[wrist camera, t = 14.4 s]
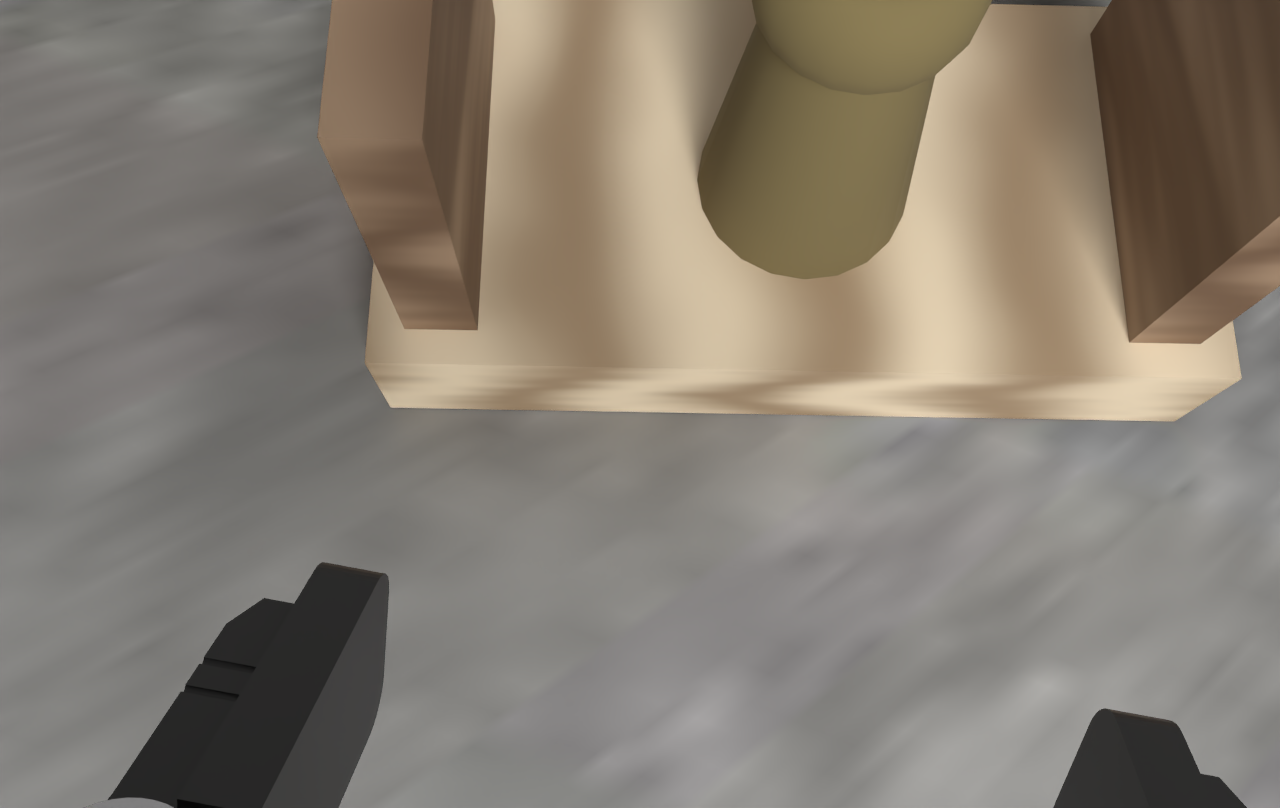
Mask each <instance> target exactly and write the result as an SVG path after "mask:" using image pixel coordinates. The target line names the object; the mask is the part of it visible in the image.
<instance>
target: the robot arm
mask: <svg viewBox="0 0 1280 808" xmlns="http://www.w3.org/2000/svg"><path fill="white" fill-rule="evenodd" d="M388 597H389V580H388V576H387V575H386V574H384V573H379V572H373V571H368V570H362V569H357V568H351V567H346V566H341V565H335V564H330V563H324V562H322V563H320V564H319V565H318V566H317V567H316V569H315V570H314V572H313V574H312V575H311V577H310V579H309V580H308V582H307V584H306V585H305V587H304V589H303V590H302V592H301V594H300V595H299V597H298V599H297V600H296V602H295V604H293V603H287V602H282V601H276V600H271V599H266V598H264V599H262V600H261V601H259V602H258V603H256V604H255V605H253V606H252V607H251V608H249V609H248V610H246V611H245V612H243V613H242V614H240V615H239V616H237V617H236V618H234V619H233V620H231V621H230V622H228V623H227V624H226V625H225V627H224V628H223V630H222V631H221V633H220V634H219V636H218V637H217V639H216V640H215V642H214V643H213V645H212V646H211V648H210V649H209V651H208V652H207V653H206V655H205V656H204V661H203V663H202V664H199V665H198V667H197V668H196V670H195V671H194V673H193V674H192V676H191V677H190V679H189V680H188V682H187V683H186V686H185V690H184V692H180V694H179V695H178V697H177V698H176V700H175V701H174V703H173V704H172V706H171V707H170V709H169V710H168V712H167V713H166V715H165V716H164V718H163V719H162V721H161V722H160V724H159V725H158V727H157V728H156V730H155V731H154V733H153V734H152V735H151V737H150V738H149V740H148V741H147V743H146V744H145V746H144V747H143V749H142V750H141V752H140V753H139V755H138V756H137V758H136V759H135V761H134V762H133V764H132V765H131V767H130V768H129V770H128V771H127V773H126V774H125V776H124V777H123V779H122V780H121V782H120V783H119V785H118V786H117V788H116V789H115V791H114V792H113V793H112V795H111V796H110V797H109V799H108V800H107V801H102V802H98V803H95V804H92V805H89V806H87V807H84V808H338V807H339V805H340V803H341V800H342V798H343V796H344V793H345V791H346V789H347V786H348V784H349V782H350V780H351V777H352V775H353V773H354V770H355V768H356V766H357V763H358V761H359V759H360V757H361V754H362V752H363V750H364V747H365V745H366V743H367V740H368V738H369V736H370V733H371V731H372V728H373V725H374V722H375V718H376V715H377V711H378V707H379V703H380V698H381V693H382V686H383V678H384V662H385V646H386V630H387V613H388ZM1054 808H1247V807H1246V806H1245V805H1244V804H1243V803H1242V802H1241V801H1240V800H1239V799H1238V798H1237V796H1236V795H1235V794H1234V793H1233V792H1232V791H1231V790H1230V789H1229V788H1228V787H1227V785H1226V784H1225V783H1224V782H1223V781H1222V780H1221V779H1220V778H1219V777H1215V776H1209V775H1204V774H1200V772H1199V769H1198V767H1197V765H1196V763H1195V761H1194V758H1193V756H1192V754H1191V752H1190V749H1189V747H1188V745H1187V743H1186V740H1185V738H1184V736H1183V734H1182V732H1181V730H1180V728H1179V727H1178V726H1177V724H1176V723H1174V722H1173V721H1170V720H1165V719H1159V718H1154V717H1148V716H1143V715H1138V714H1132V713H1127V712H1121V711H1116V710H1110V709H1101V710H1099V711H1098V712H1097V713H1096V714H1095V716H1094V717H1093V718H1092V720H1091V722H1090V725H1089V727H1088V729H1087V731H1086V734H1085V736H1084V738H1083V741H1082V743H1081V745H1080V747H1079V750H1078V752H1077V754H1076V757H1075V759H1074V761H1073V763H1072V766H1071V768H1070V770H1069V773H1068V775H1067V777H1066V780H1065V782H1064V784H1063V786H1062V789H1061V791H1060V793H1059V796H1058V798H1057V800H1056V802H1055V805H1054Z"/></svg>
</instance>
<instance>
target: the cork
mask: <svg viewBox="0 0 1280 808" xmlns="http://www.w3.org/2000/svg"><path fill="white" fill-rule="evenodd" d="M991 2H992V0H752V4H753V9H754V14H755V19H756V24H755V27H754V29H753V32H752V34H751V36H750V39H749V41H748V44H747V46H746V48H745V51H744V53H743V55H742V58H741V60H740V63H739V65H738V67H737V70H736V72H735V75H734V77H733V79H732V82H731V84H730V87H729V89H728V91H727V94H726V96H725V98H724V101H723V103H722V106H721V108H720V110H719V113H718V115H717V118H716V120H715V122H714V125H713V127H712V129H711V132H710V134H709V137H708V139H707V141H706V144H705V146H704V149H703V151H702V156H701V162H700V167H699V172H698V178H697V182H698V188H699V194H700V200H701V205H702V210H703V212H704V213H705V215H706V217H707V219H708V221H709V223H710V224H711V226H712V228H713V230H714V232H715V233H716V235H717V237H718V238H719V239H720V240H721V241H723V242H724V243H725V244H726V245H727V246H728V247H729V248H730V249H731V250H732V251H733V252H734V253H735V254H736V255H737V256H739V257H740V258H741V259H742V260H744V261H746V262H749V263H751V264H753V265H755V266H757V267H759V268H761V269H763V270H765V271H767V272H769V273H771V274H776V275H782V276H787V277H793V278H799V279H813V278H821V277H830V276H838V275H840V274H842V273H844V272H847V271H849V270H851V269H853V268H856V267H858V266H860V265H862V264H864V263H867V262H868V261H869V260H870V259H871V258H872V257H873V256H874V255H875V254H877V253H878V252H879V251H880V250H881V249H882V248H883V247H884V246H885V245H886V244H887V243H888V242H889V241H890V239H891V237H892V236H893V234H894V232H895V230H896V228H897V226H898V224H899V222H900V220H901V218H902V216H903V213H904V209H905V204H906V200H907V196H908V191H909V187H910V183H911V179H912V174H913V170H914V166H915V161H916V157H917V153H918V148H919V144H920V140H921V135H922V131H923V127H924V122H925V118H926V114H927V110H928V105H929V101H930V97H931V92H932V88H933V84H934V79H935V75H936V74H937V73H938V72H940V71H941V70H942V69H943V68H944V67H945V66H946V65H947V64H949V63H950V62H951V61H952V60H953V59H954V58H955V57H956V56H957V55H958V54H960V53H961V52H962V51H963V50H964V49H965V48H966V47H967V46H968V45H969V44H970V42H971V40H972V38H973V36H974V34H975V33H976V31H977V29H978V27H979V25H980V23H981V21H982V19H983V17H984V15H985V13H986V12H987V10H988V8H989V6H990V4H991Z"/></svg>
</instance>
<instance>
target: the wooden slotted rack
mask: <svg viewBox="0 0 1280 808" xmlns="http://www.w3.org/2000/svg"><path fill="white" fill-rule="evenodd" d="M755 24H756V19H755V14H754V9H753V4H752V0H332V6H331V15H330V24H329V34H328V43H327V52H326V61H325V71H324V80H323V89H322V98H321V108H320V117H319V126H318V135H317V138H318V140H319V142H320V144H321V147H322V149H323V151H324V153H325V155H326V158H327V160H328V162H329V164H330V166H331V169H332V171H333V173H334V175H335V177H336V180H337V182H338V184H339V186H340V188H341V191H342V193H343V195H344V197H345V199H346V202H347V204H348V206H349V208H350V210H351V213H352V215H353V217H354V219H355V221H356V224H357V226H358V228H359V230H360V232H361V235H362V237H363V239H364V241H365V243H366V246H367V248H368V250H369V252H370V254H371V257H372V259H373V261H374V262H373V273H372V285H371V296H370V307H369V319H368V330H367V342H366V353H365V364H366V366H367V368H368V369H369V371H370V373H371V375H372V376H373V378H374V380H375V381H376V383H377V385H378V386H379V388H380V390H381V392H382V393H383V395H384V397H385V398H386V400H387V402H388V404H389V405H390V407H391V408H439V409H497V410H554V411H612V412H669V413H727V414H785V415H842V416H900V417H957V418H1015V419H1072V420H1130V421H1176V420H1177V419H1179V418H1180V417H1182V416H1184V415H1185V414H1187V413H1188V412H1190V411H1191V410H1193V409H1195V408H1196V407H1198V406H1199V405H1201V404H1203V403H1204V402H1206V401H1207V400H1209V399H1210V398H1212V397H1214V396H1215V395H1217V394H1218V393H1220V392H1221V391H1223V390H1225V389H1226V388H1228V387H1229V386H1231V385H1233V384H1234V383H1236V382H1237V381H1239V380H1240V379H1242V378H1241V372H1240V365H1239V359H1238V352H1237V346H1236V340H1235V333H1234V327H1233V320H1234V319H1235V318H1237V317H1238V316H1239V315H1241V314H1242V313H1243V312H1245V311H1246V310H1248V309H1249V308H1250V307H1252V306H1253V305H1254V304H1256V303H1257V302H1258V301H1260V300H1261V299H1263V298H1264V297H1265V296H1267V295H1268V294H1269V293H1271V292H1272V291H1273V290H1275V289H1276V288H1277V287H1279V286H1280V0H1112V1H1111V3H1110V4H1109V6H1108V7H1093V6H1053V5H1013V4H990V6H989V8H988V10H987V12H986V13H985V15H984V17H983V19H982V21H981V23H980V25H979V27H978V29H977V31H976V33H975V34H974V36H973V38H972V40H971V42H970V44H969V45H968V46H967V47H966V48H965V49H964V50H963V51H962V52H961V53H960V54H958V55H957V56H956V57H955V58H954V59H953V60H952V61H951V62H950V63H949V64H947V65H946V66H945V67H944V68H943V69H942V70H941V71H940V72H938V73H937V74H936V75H935V79H934V84H933V88H932V92H931V97H930V101H929V105H928V110H927V114H926V118H925V122H924V127H923V131H922V135H921V140H920V144H919V148H918V153H917V157H916V161H915V166H914V170H913V174H912V179H911V183H910V187H909V191H908V196H907V200H906V204H905V209H904V213H903V216H902V218H901V220H900V222H899V224H898V226H897V228H896V230H895V232H894V234H893V236H892V237H891V239H890V241H889V242H888V243H887V244H886V245H885V246H884V247H883V248H882V249H881V250H880V251H879V252H878V253H877V254H875V255H874V256H873V257H872V258H871V259H870V260H869V261H868V262H867V263H864V264H862V265H860V266H858V267H856V268H853V269H851V270H849V271H847V272H844V273H842V274H840V275H838V276H830V277H821V278H813V279H799V278H793V277H787V276H782V275H776V274H771V273H769V272H767V271H765V270H763V269H761V268H759V267H757V266H755V265H753V264H751V263H749V262H746V261H744V260H742V259H741V258H740V257H739V256H737V255H736V254H735V253H734V252H733V251H732V250H731V249H730V248H729V247H728V246H727V245H726V244H725V243H724V242H723V241H721V240H720V239H719V238H718V237H717V235H716V233H715V232H714V230H713V228H712V226H711V224H710V223H709V221H708V219H707V217H706V215H705V213H704V212H703V210H702V205H701V200H700V194H699V188H698V182H697V178H698V172H699V167H700V162H701V156H702V151H703V149H704V146H705V144H706V141H707V139H708V137H709V134H710V132H711V129H712V127H713V125H714V122H715V120H716V118H717V115H718V113H719V110H720V108H721V106H722V103H723V101H724V98H725V96H726V94H727V91H728V89H729V87H730V84H731V82H732V79H733V77H734V75H735V72H736V70H737V67H738V65H739V63H740V60H741V58H742V55H743V53H744V51H745V48H746V46H747V44H748V41H749V39H750V36H751V34H752V32H753V29H754V27H755Z"/></svg>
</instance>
